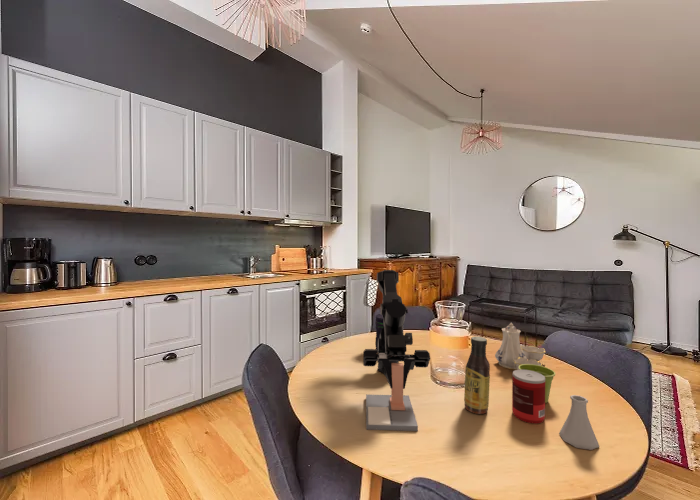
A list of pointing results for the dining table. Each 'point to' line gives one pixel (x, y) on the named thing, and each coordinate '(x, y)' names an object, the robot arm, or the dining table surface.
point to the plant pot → (544, 371)
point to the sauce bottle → (477, 378)
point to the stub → (397, 387)
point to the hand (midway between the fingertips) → (397, 388)
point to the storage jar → (378, 328)
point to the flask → (579, 426)
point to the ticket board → (389, 414)
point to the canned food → (528, 396)
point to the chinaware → (516, 350)
